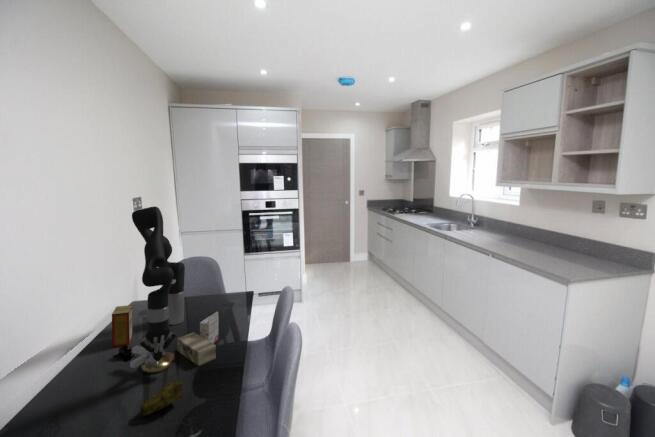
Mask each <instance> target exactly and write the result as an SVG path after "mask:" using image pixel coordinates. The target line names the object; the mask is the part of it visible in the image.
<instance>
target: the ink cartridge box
mask: <svg viewBox="0 0 655 437" xmlns="http://www.w3.org/2000/svg"><path fill="white" fill-rule="evenodd" d="M199 335H200V336H201V337H203V338H205V339H206V340H208V341H209V342H211V343H213V344H215V342H217V341H218V340H219V312H218V310H217V311H216V312H214V313H212V314H211V315H209V316H207V317H206V318H205V319H203V320H202V321H201V322H199Z"/></svg>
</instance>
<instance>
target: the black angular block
mask: <svg viewBox="0 0 655 437" xmlns="http://www.w3.org/2000/svg"><path fill="white" fill-rule="evenodd" d="M135 355H136V354H135V353H132V347H131V346H128V345H124V346H120V347H119V348H118V353H117V354H114V355H112V356H111V357H112V358H114V359H117V360H119V361H121V362H124V363H127V362H129V361H130V362H131V359H132V358H133V357H135ZM135 358H136V357H135ZM132 360H133V359H132Z"/></svg>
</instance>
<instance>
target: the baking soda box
mask: <svg viewBox="0 0 655 437" xmlns="http://www.w3.org/2000/svg"><path fill="white" fill-rule="evenodd" d="M133 335H134V334H133V304H129V305H120V306H115V307H114V309H113V312H112V313H111V338H112V340H111V341H112V342H111V343H112V347H111V348H115V347H116V348H117V347H123V346H125V345H126V346H128V345H130V344H131V341H132V338H133Z"/></svg>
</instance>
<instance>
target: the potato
mask: <svg viewBox="0 0 655 437" xmlns="http://www.w3.org/2000/svg"><path fill="white" fill-rule="evenodd" d="M184 388H185V386H184V383H183V382H182V381H180V380H171V381H169V382H168V383H167V384H165V385H163V386H162V387H161V388H160V389H158V391H157V392H156V393H154V394H153V395H152V396H150V397H149V398H148V399H146V400H145V401H144V402H143V403H142V404H141V406H140V410H139V412H140V415H142V416H150V415H152V414H153V413H155V412H158V411H160V410H162V409H164V408H166V407H168V406H169V405H170V404H172V403H173V402H174V401H176V400H178V399H181V398H182V397H183V393H184V390H185V389H184Z"/></svg>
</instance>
